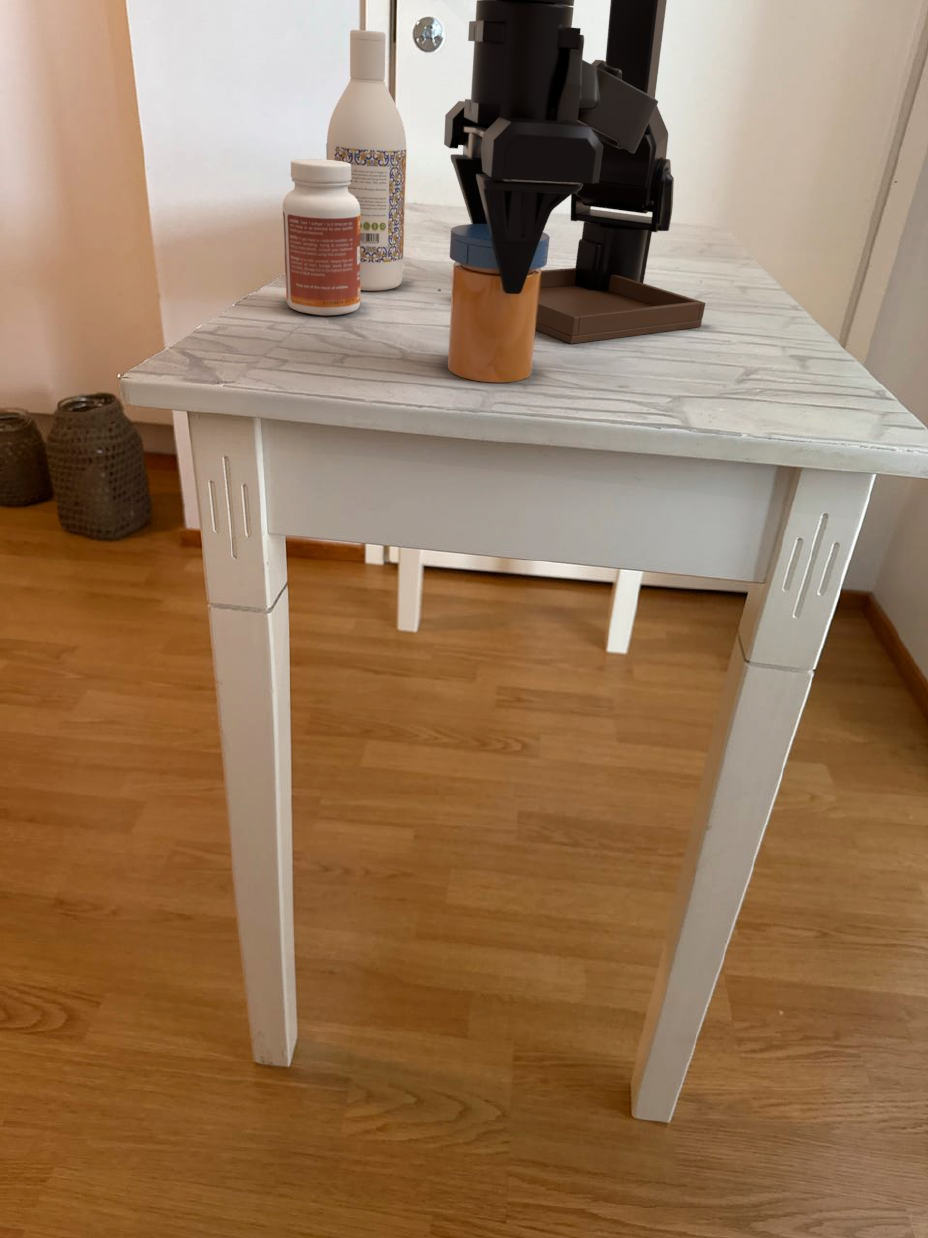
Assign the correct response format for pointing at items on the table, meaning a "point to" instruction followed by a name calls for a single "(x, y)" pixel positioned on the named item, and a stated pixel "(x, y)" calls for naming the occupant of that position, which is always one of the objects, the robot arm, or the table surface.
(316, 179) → the pill bottle
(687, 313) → the tray
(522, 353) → the jar
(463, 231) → the lid
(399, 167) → the bath foam
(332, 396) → the table surface
